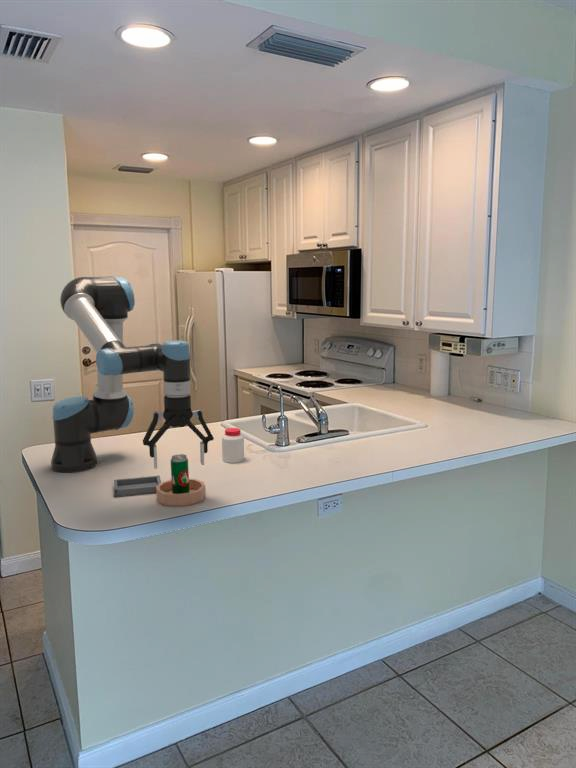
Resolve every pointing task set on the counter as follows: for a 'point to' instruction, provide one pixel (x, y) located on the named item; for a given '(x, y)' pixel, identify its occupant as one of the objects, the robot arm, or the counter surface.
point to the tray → (136, 486)
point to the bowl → (182, 499)
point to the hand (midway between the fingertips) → (179, 465)
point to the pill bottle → (232, 446)
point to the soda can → (179, 474)
